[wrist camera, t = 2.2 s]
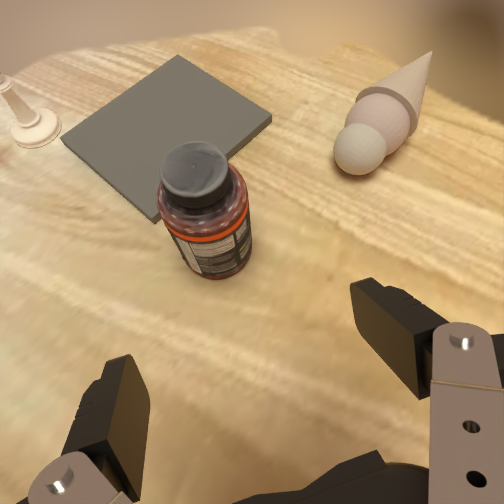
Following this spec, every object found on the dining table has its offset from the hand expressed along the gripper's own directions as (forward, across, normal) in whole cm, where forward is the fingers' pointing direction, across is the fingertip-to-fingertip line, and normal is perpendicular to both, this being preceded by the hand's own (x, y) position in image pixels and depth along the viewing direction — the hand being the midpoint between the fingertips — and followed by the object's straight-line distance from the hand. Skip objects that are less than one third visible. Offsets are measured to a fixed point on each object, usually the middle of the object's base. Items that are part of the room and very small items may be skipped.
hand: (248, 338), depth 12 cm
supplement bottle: (+18, 0, +3) cm, 18 cm away
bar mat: (+28, +1, -7) cm, 29 cm away
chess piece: (+32, +14, -11) cm, 37 cm away
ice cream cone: (+24, -19, -2) cm, 30 cm away
